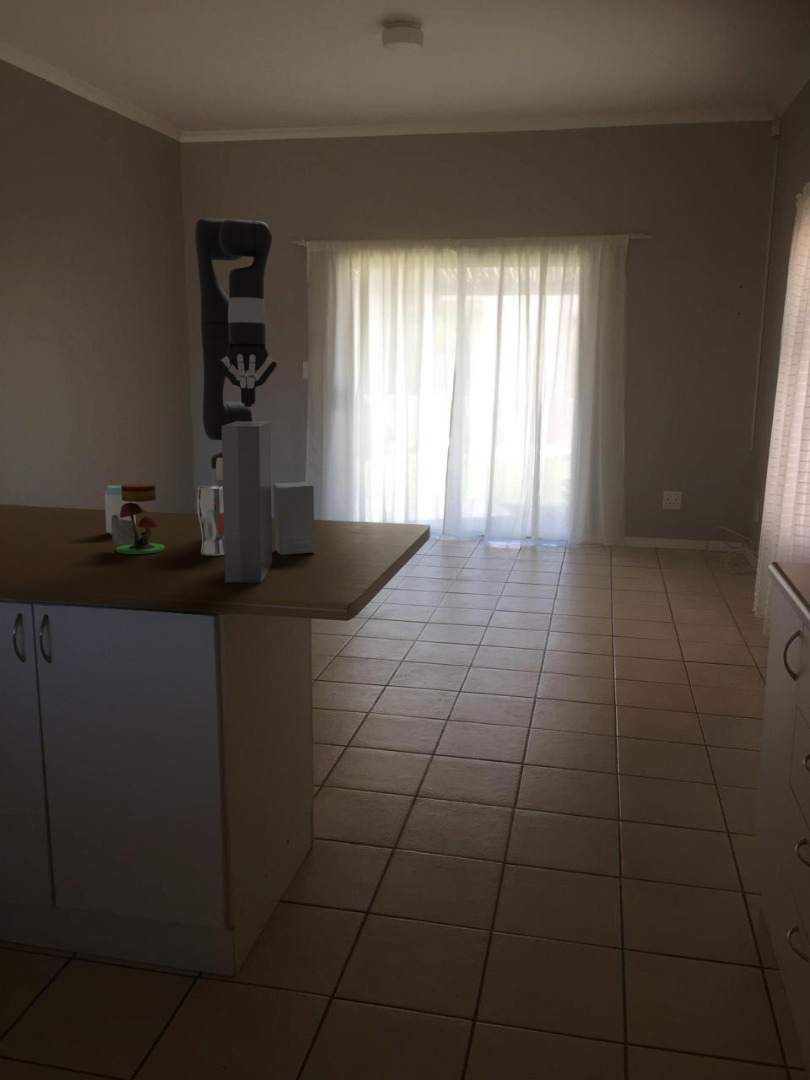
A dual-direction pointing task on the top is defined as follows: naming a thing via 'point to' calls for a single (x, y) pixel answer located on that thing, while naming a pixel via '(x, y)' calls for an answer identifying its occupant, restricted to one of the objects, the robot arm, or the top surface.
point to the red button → (220, 523)
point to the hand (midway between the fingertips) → (248, 406)
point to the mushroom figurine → (127, 529)
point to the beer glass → (210, 519)
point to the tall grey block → (247, 500)
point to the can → (114, 505)
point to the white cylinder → (219, 469)
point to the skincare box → (294, 518)
